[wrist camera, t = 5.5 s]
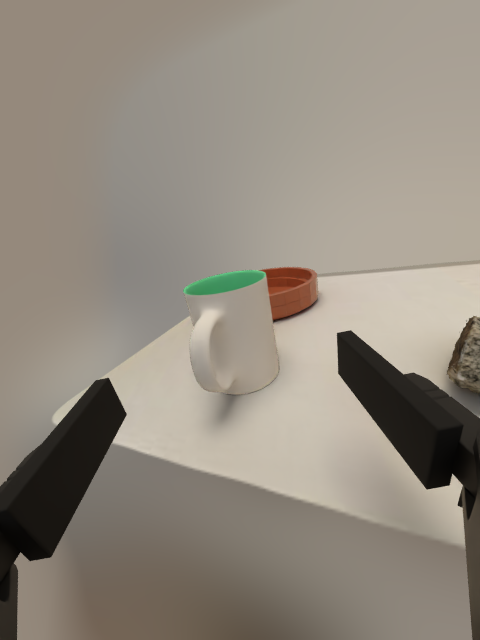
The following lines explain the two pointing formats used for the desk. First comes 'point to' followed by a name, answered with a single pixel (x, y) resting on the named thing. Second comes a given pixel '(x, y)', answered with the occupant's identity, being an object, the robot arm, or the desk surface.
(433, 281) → the desk surface
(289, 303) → the bowl
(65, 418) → the robot arm
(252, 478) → the desk surface
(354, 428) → the desk surface
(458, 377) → the rock sample
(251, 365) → the mug
